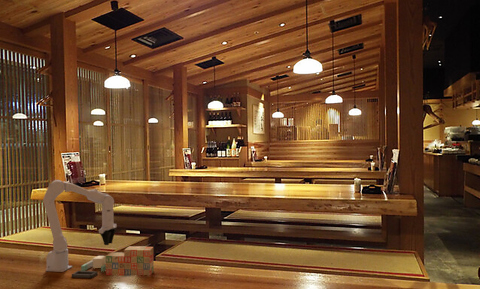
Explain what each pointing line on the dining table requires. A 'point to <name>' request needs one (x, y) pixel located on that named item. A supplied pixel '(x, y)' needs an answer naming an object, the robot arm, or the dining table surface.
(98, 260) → the cream block
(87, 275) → the trap pit
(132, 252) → the stack of blocks
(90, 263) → the lane walls
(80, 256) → the dining table surface
